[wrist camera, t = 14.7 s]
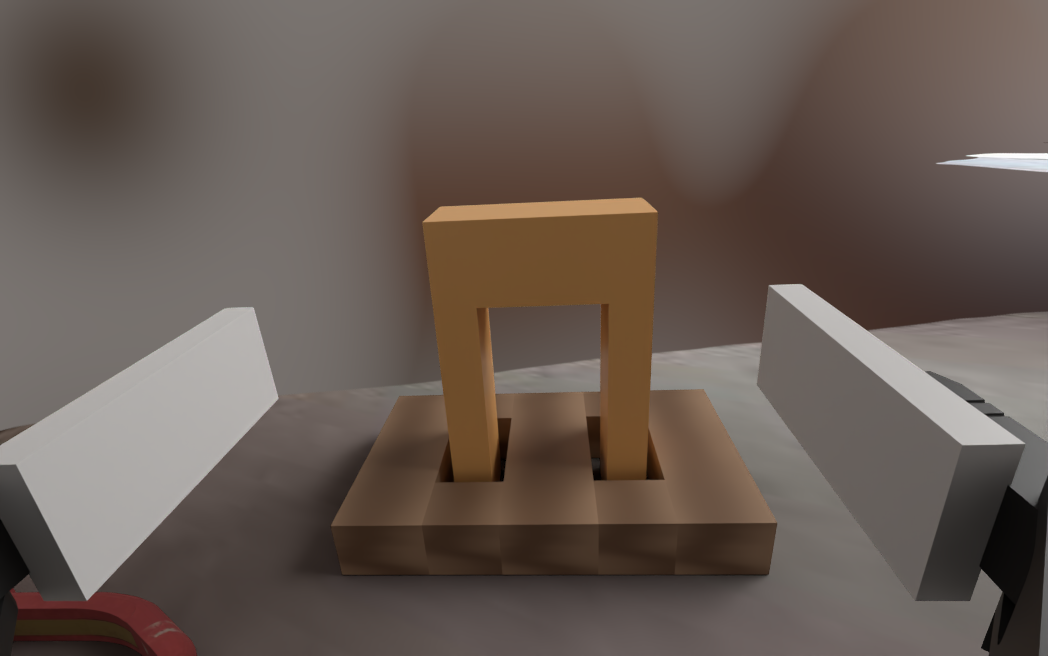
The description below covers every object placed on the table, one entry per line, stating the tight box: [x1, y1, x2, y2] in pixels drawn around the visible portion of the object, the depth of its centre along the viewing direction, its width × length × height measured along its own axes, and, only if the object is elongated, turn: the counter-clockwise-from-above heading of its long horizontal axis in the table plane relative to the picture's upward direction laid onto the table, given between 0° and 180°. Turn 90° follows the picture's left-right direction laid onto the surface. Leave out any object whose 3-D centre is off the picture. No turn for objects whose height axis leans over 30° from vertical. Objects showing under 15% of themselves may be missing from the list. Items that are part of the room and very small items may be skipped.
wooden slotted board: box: [331, 389, 777, 575], centre depth 30 cm, size 20×12×3 cm, turn 87°
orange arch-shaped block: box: [423, 198, 658, 482], centre depth 27 cm, size 10×4×16 cm, turn 87°
